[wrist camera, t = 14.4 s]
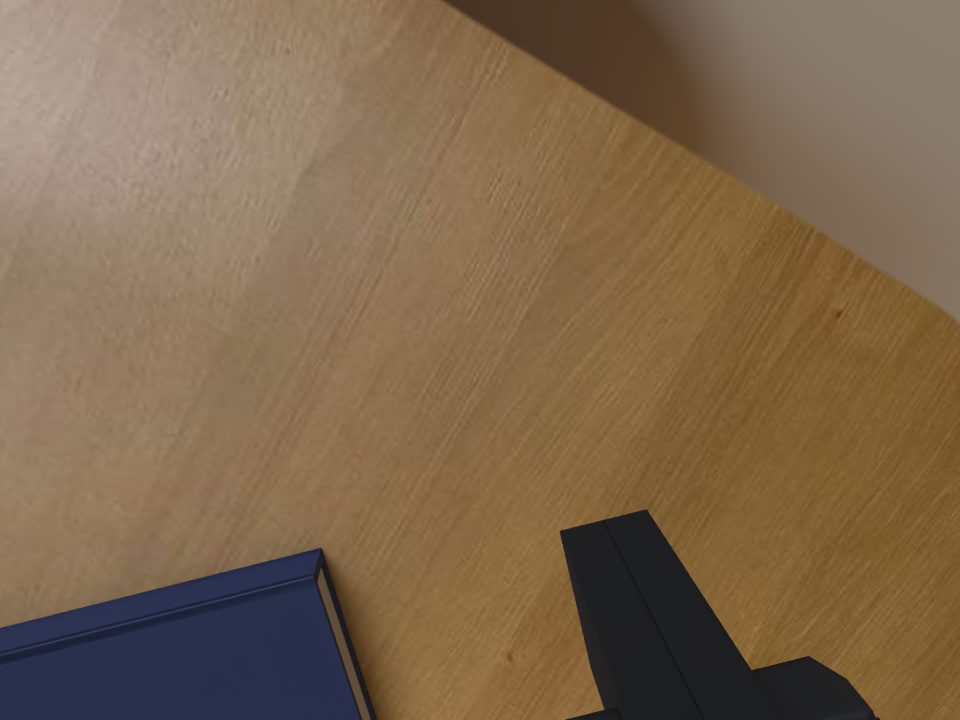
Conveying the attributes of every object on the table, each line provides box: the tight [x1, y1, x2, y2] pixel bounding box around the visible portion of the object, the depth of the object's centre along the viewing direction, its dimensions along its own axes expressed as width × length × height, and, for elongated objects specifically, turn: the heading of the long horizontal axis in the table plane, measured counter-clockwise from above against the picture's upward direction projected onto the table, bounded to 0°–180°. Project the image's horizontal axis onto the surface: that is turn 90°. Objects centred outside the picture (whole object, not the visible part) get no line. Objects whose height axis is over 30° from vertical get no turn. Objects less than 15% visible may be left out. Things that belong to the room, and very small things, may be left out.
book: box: [0, 548, 376, 720], centre depth 40 cm, size 24×13×3 cm, turn 104°
